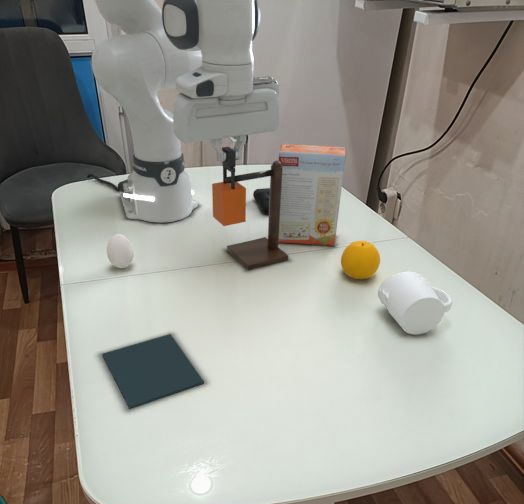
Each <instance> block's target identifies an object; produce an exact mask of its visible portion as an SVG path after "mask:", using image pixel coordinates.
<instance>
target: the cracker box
mask: <svg viewBox="0 0 524 504" xmlns="http://www.w3.org/2000/svg"><path fill="white" fill-rule="evenodd" d="M278 161H279V162H281V164H282V166H283V171H282V188H281V206H280V223H279V241H278V243H284V244H298V245H315V246H328V247H329V246H332V247H334V246H335V244H336V237H337V236H336V235H337V229H338V220H339V214H340V213H339V211H340V203H341V196H342V190H343V189H342V188H343V181H344V171H345V163H346V148H345V146H343V147H341V146H327V145H309V144H308V145H307V144H292V143H291V144H289V143H280V146H279V151H278Z"/></svg>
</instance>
